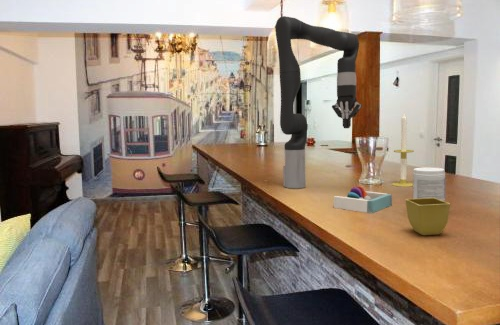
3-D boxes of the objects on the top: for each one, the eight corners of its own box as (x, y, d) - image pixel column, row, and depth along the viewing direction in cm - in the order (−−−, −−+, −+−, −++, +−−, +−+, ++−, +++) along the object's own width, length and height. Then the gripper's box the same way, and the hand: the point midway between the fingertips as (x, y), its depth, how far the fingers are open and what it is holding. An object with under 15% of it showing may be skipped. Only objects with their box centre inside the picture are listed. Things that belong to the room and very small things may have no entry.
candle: (390, 186, 191) (391, 112, 187) (392, 182, 200) (392, 112, 196) (414, 187, 187) (416, 111, 183) (415, 183, 196) (416, 111, 192)
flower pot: (404, 229, 123) (404, 198, 122) (433, 227, 124) (434, 197, 123) (418, 238, 114) (419, 205, 113) (450, 236, 115) (451, 203, 114)
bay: (333, 207, 153) (333, 196, 152) (355, 200, 164) (355, 190, 163) (371, 213, 143) (371, 201, 142) (391, 205, 154) (391, 194, 153)
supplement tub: (451, 215, 137) (452, 169, 135) (424, 218, 135) (425, 171, 133) (431, 209, 146) (432, 166, 144) (406, 211, 144) (407, 168, 142)
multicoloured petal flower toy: (374, 206, 154) (374, 186, 153) (359, 211, 147) (359, 190, 146) (354, 203, 160) (354, 183, 159) (339, 207, 153) (339, 187, 153)
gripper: (327, 85, 172) (327, 128, 174) (356, 83, 163) (356, 128, 165) (337, 85, 178) (337, 127, 180) (366, 83, 169) (366, 127, 171)
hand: (346, 128), depth 173 cm, fingers closed
